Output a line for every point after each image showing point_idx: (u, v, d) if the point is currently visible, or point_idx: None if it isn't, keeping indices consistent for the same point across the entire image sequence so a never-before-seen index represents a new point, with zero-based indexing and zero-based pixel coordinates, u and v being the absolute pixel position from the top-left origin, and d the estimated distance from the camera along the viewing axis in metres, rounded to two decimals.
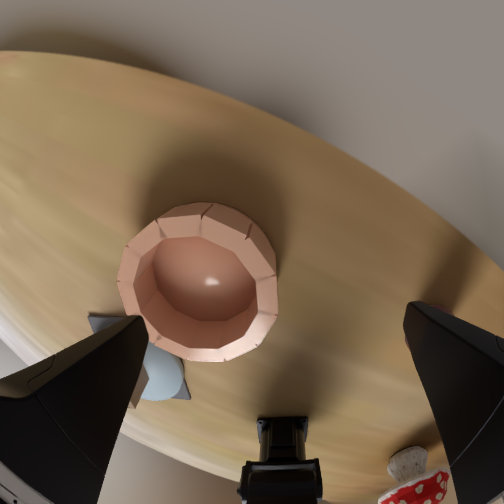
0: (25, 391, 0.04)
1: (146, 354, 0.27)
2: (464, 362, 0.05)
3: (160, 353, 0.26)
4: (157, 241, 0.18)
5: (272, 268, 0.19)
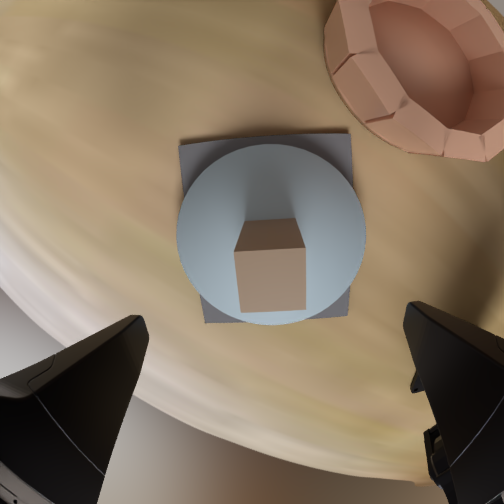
0: (25, 391, 0.04)
1: (310, 199, 0.15)
2: (464, 362, 0.05)
3: (341, 194, 0.15)
4: None
5: None
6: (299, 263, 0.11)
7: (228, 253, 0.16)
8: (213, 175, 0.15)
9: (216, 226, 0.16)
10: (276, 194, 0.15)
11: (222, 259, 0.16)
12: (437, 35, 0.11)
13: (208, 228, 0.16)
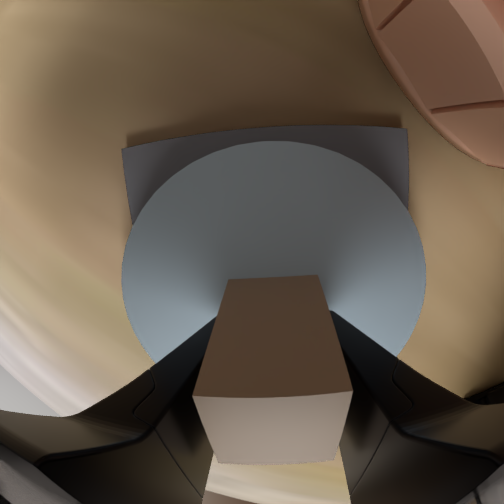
0: (138, 426, 0.04)
1: (345, 243, 0.08)
2: None
3: (396, 233, 0.08)
4: None
5: None
6: (334, 413, 0.04)
7: None
8: (171, 200, 0.08)
9: (182, 286, 0.09)
10: (285, 234, 0.08)
11: None
12: (502, 6, 0.04)
13: (168, 289, 0.09)
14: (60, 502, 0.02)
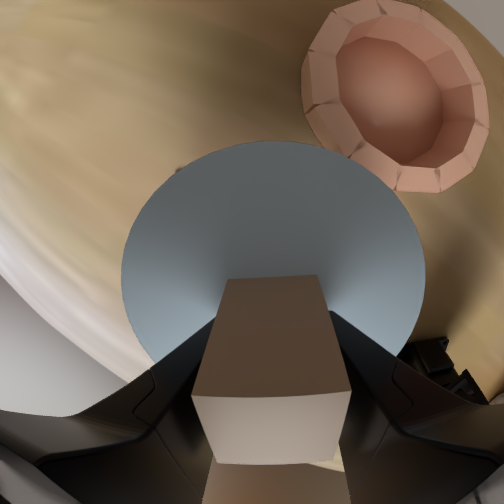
0: (138, 426, 0.04)
1: (344, 243, 0.08)
2: None
3: (395, 233, 0.08)
4: (376, 15, 0.10)
5: (480, 77, 0.10)
6: (333, 413, 0.04)
7: None
8: (170, 200, 0.08)
9: (181, 286, 0.09)
10: (284, 234, 0.08)
11: None
12: (410, 68, 0.14)
13: (168, 289, 0.09)
14: (60, 502, 0.02)
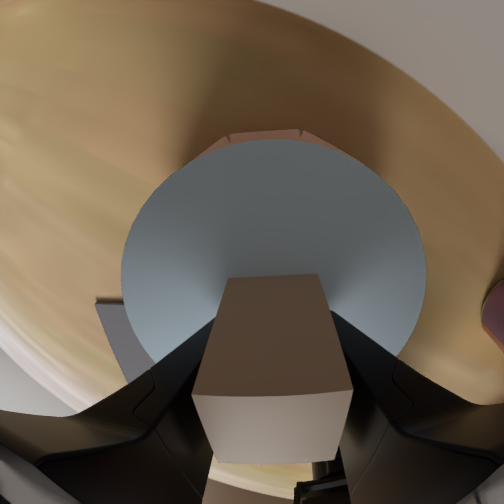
0: (137, 426, 0.04)
1: (345, 242, 0.08)
2: None
3: (396, 232, 0.08)
4: None
5: None
6: (334, 412, 0.04)
7: None
8: (170, 199, 0.08)
9: (181, 285, 0.09)
10: (285, 233, 0.08)
11: None
12: None
13: (168, 288, 0.09)
14: (60, 502, 0.02)
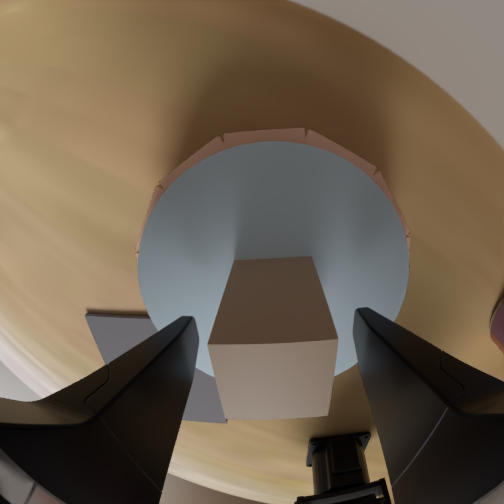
0: (85, 413, 0.04)
1: (335, 228, 0.10)
2: (399, 378, 0.05)
3: (380, 220, 0.09)
4: None
5: None
6: (324, 361, 0.06)
7: (211, 305, 0.11)
8: (185, 191, 0.10)
9: (192, 267, 0.11)
10: (283, 220, 0.10)
11: (203, 312, 0.11)
12: None
13: (181, 270, 0.11)
14: (15, 474, 0.02)
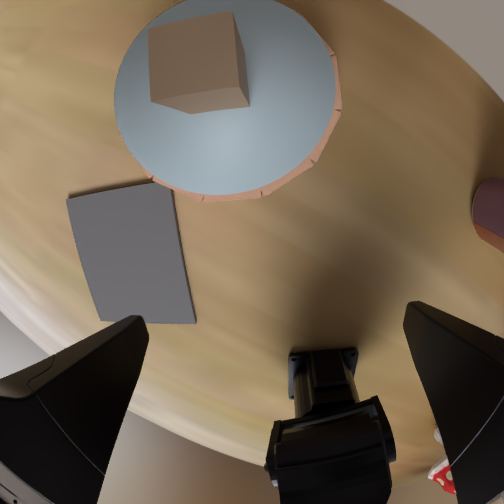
0: (25, 391, 0.04)
1: (261, 35, 0.10)
2: (464, 362, 0.05)
3: (297, 29, 0.10)
4: None
5: (329, 49, 0.11)
6: (225, 27, 0.07)
7: None
8: (157, 26, 0.10)
9: None
10: None
11: (160, 108, 0.12)
12: None
13: (147, 76, 0.11)
14: None
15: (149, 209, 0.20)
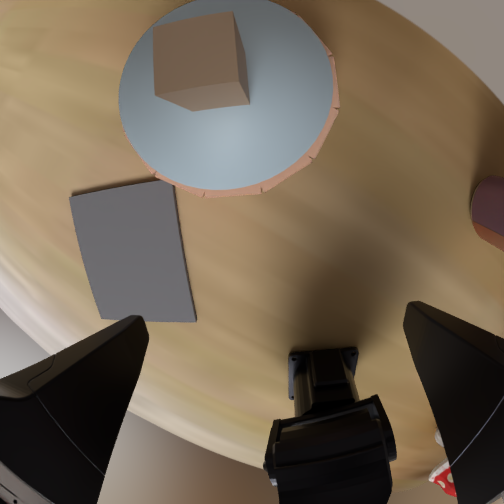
0: (25, 391, 0.04)
1: (261, 35, 0.11)
2: (464, 362, 0.05)
3: (296, 30, 0.10)
4: None
5: (327, 49, 0.12)
6: (225, 26, 0.07)
7: None
8: None
9: None
10: None
11: (163, 105, 0.12)
12: None
13: (151, 75, 0.12)
14: None
15: (151, 207, 0.20)
